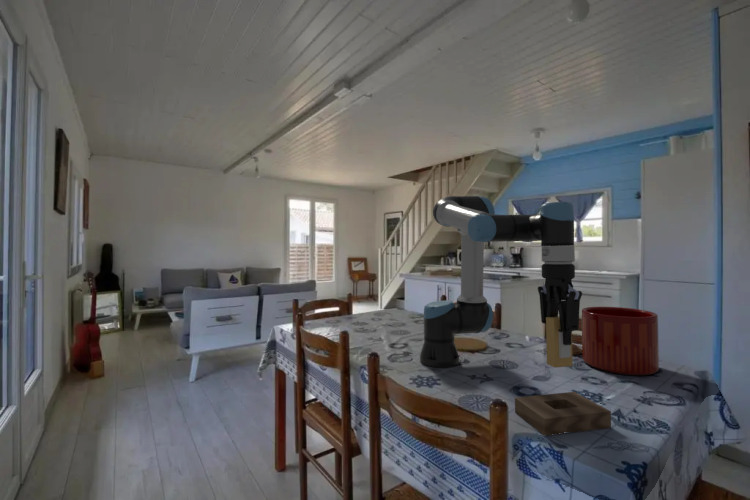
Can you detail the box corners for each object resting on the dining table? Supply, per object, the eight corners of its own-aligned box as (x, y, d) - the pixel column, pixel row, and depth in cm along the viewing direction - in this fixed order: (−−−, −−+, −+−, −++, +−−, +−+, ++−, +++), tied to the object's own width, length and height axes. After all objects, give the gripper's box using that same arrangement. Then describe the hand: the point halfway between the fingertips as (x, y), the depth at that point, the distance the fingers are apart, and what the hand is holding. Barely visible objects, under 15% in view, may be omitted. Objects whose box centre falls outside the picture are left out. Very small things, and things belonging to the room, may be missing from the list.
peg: (546, 363, 89) (545, 317, 90) (564, 362, 90) (563, 316, 90) (554, 367, 87) (553, 319, 87) (572, 366, 87) (571, 318, 88)
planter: (587, 353, 144) (586, 304, 144) (659, 364, 129) (658, 310, 129) (577, 368, 126) (576, 312, 126) (659, 382, 112) (657, 320, 112)
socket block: (544, 436, 81) (544, 418, 81) (515, 412, 93) (514, 397, 93) (611, 427, 84) (610, 411, 84) (574, 406, 96) (573, 391, 96)
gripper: (525, 262, 96) (526, 347, 96) (567, 264, 80) (569, 366, 80) (549, 262, 97) (551, 345, 97) (595, 263, 81) (597, 363, 81)
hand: (559, 354), depth 88 cm, fingers closed on peg, 3 cm apart
